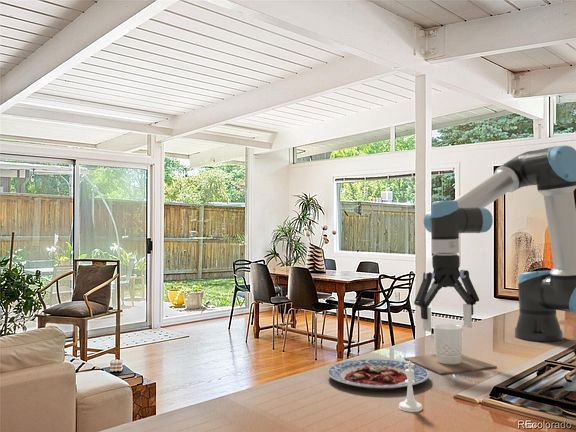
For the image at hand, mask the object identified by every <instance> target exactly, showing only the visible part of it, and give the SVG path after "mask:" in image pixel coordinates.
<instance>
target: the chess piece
mask: <svg viewBox="0 0 576 432" xmlns="http://www.w3.org/2000/svg"><path fill="white" fill-rule="evenodd" d="M407 363H408V364H405V366H406V367H408V369H406V370H405V373H406V376H407V380H405V383H408V386H406V387H407V390H406V398H405V399H404V401H401V402H400V403H399V404H398V409H399V410H401V411H403V412H408V413H409V412H410V413H417V412H420V411H422V410H423V405H422V404H421V403H420V402H418V401H417V400H416V399H415V397H414V395H415V394H414V389H413V385H412V384H413V383H415V381H414V380H412V378H413V374H414V370H413V369H411V366H414V365H415V364H414V363H411V361H407Z"/></svg>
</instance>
